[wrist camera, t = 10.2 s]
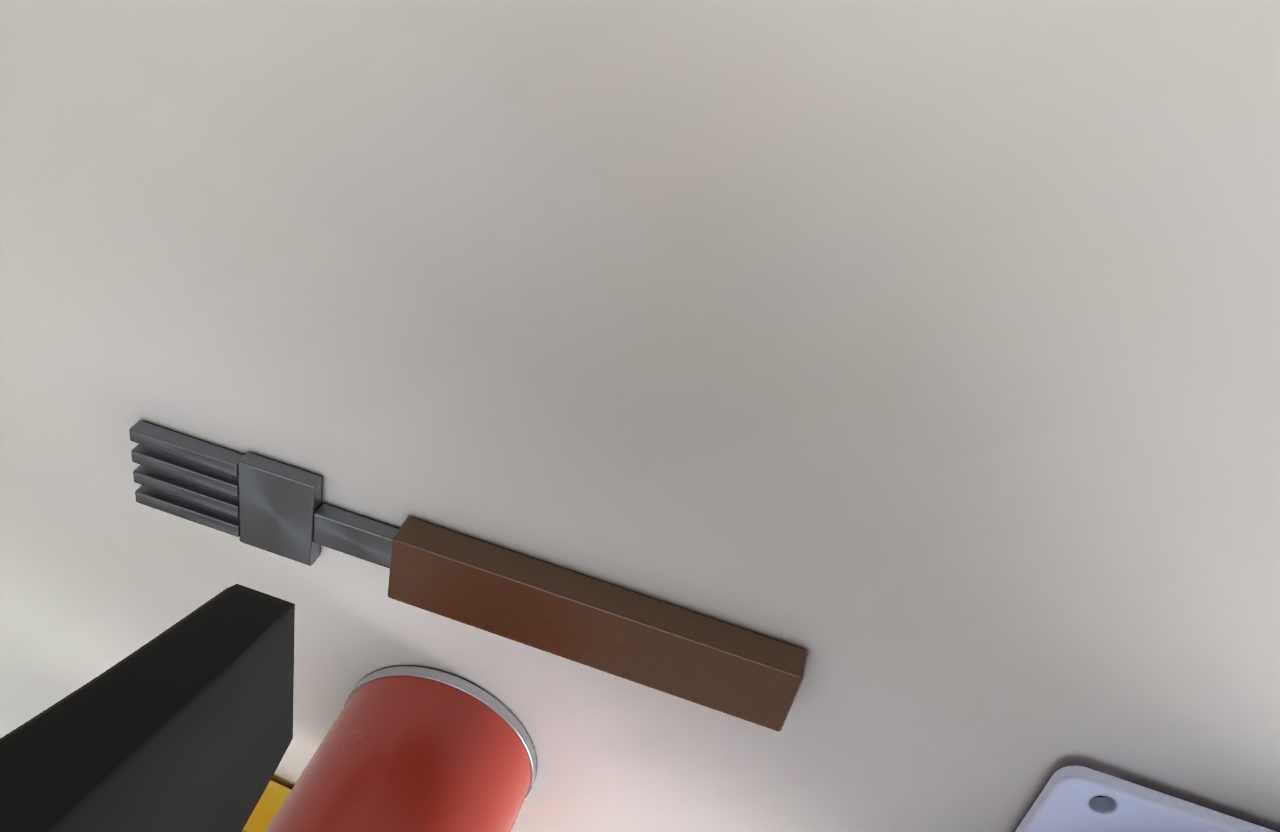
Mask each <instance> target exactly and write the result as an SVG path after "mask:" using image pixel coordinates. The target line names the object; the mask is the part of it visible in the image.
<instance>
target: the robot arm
mask: <svg viewBox="0 0 1280 832" xmlns="http://www.w3.org/2000/svg"><path fill="white" fill-rule="evenodd" d="M294 610H295V604H293V603H290V602H287V601H285V600H282V599H279V598H276V597H273V596H270V595H267V594H264V593H262V592H259V591H256V590H253V589H250V588H247V587H244V586H241V585H239V584H236V585H234V586H231V587H229V588H227V589H225V590H224V591H222V592H221V593H219V594H218V595H217V596H215V597H214V598H212V599H211V600H209V601H208V602H206V603H205V604H204V605H202V606H201V607H199V608H198V609H196V610H195V611H193V612H192V613H191V614H189V615H188V616H186V617H185V618H183V619H182V620H180V621H179V622H178V623H176V624H175V625H173V626H172V627H170V628H169V629H167V630H166V631H164V632H163V633H162V634H160V635H159V636H157V637H156V638H154V639H153V640H151V641H150V642H148V643H147V644H145V645H144V646H143V647H141V648H140V649H138V650H137V651H135V652H134V653H132V654H131V655H129V656H128V657H126V658H125V659H123V660H122V661H120V662H119V663H117V664H116V665H114V666H113V667H111V668H110V669H108V670H107V671H105V672H104V673H102V674H101V675H99V676H98V677H96V678H95V679H93V680H92V681H90V682H89V683H87V684H86V685H84V686H82V687H81V688H79V689H78V690H76V691H75V692H73V693H71V694H70V695H68V696H67V697H65V698H64V699H62V700H60V701H59V702H57V703H56V704H54V705H53V706H51V707H50V708H48V709H46V710H45V711H43V712H42V713H40V714H39V715H37V716H35V717H34V718H32V719H31V720H29V721H28V722H26V723H25V724H23V725H21V726H20V727H18V728H17V729H15V730H13V731H12V732H10V733H9V734H7V735H5V736H4V737H2V738H0V832H242V830H243V828H244V827H245V825H246V823H247V821H248V819H249V818H250V816H251V814H252V812H253V811H254V809H255V807H256V805H257V803H258V802H259V800H260V798H261V796H262V795H263V793H264V791H265V789H266V787H267V785H268V783H269V782H270V780H271V778H272V776H273V774H274V772H275V770H276V769H277V767H278V765H279V763H280V761H281V759H282V757H283V755H284V754H285V752H286V750H287V748H288V746H289V744H290V742H291V740H292V739H293V676H294ZM1100 795H1102V796H1108V797H1104V798H1101V797H1095V796H1100ZM1015 832H1277V831H1274V830H1271V829H1268V828H1265V827H1262V826H1259V825H1256V824H1253V823H1250V822H1247V821H1244V820H1241V819H1238V818H1235V817H1232V816H1229V815H1226V814H1223V813H1220V812H1217V811H1214V810H1211V809H1209V808H1206V807H1203V806H1200V805H1197V804H1194V803H1191V802H1188V801H1185V800H1182V799H1179V798H1176V797H1173V796H1170V795H1167V794H1164V793H1161V792H1158V791H1155V790H1152V789H1149V788H1146V787H1143V786H1140V785H1138V784H1135V783H1132V782H1129V781H1126V780H1123V779H1120V778H1117V777H1114V776H1111V775H1108V774H1105V773H1102V772H1099V771H1096V770H1093V769H1090V768H1087V767H1083V766H1078V765H1075V766H1066V767H1064V768H1061V769H1058V770H1057V771H1056V772H1055V773H1054V774H1053V775H1052V777H1051V778H1050V780H1049V781H1048V783H1047V784H1046V786H1045V787H1044V789H1043V790H1042V792H1041V793H1040V795H1039V796H1038V798H1037V799H1036V801H1035V802H1034V804H1033V805H1032V807H1031V808H1030V810H1029V811H1028V813H1027V814H1026V816H1025V817H1024V819H1023V820H1022V822H1021V823H1020V825H1019V826H1018V828H1017V829H1016V831H1015Z"/></svg>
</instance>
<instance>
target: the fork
mask: <svg viewBox="0 0 1280 832" xmlns="http://www.w3.org/2000/svg"><path fill="white" fill-rule="evenodd" d="M129 431H130V440H131V441H133V442H136V443H139V444H138V445H137V446H136V447H135V448H134V449H133V450H132V451H131V453H132V461H133V462H135V463H138V464H141V465H140V466H139V467H138V468H136V469H135V470H134V472H133V474H134V482H136V483H139V484H141V485H142V486H141V487H139V488H138V489H137V490H136V492H135V495H136V502H138V503H141V504H144V505H147V506H150V507H152V508H155V509H158V510H161V511H164V512H167V513H170V514H173V515H176V516H179V517H182V518H184V519H187V520H190V521H193V522H196V523H199V524H202V525H205V526H208V527H211V528H214V529H216V530H219V531H222V532H225V533H228V534H231V535H234V536H237V537H239V536H240V541H241V542H243V543H246V544H249V545H251V546H254V547H257V548H260V549H263V550H266V551H269V552H272V553H275V554H278V555H281V556H283V557H286V558H289V559H292V560H295V561H298V562H301V563H304V564H307V565H310V566H311V565H313V563H314V562H315V561H316V559H317V558H318V557H319V550H320V545H322V546H325V547H328V548H331V549H334V550H337V551H340V552H343V553H346V554H349V555H352V556H355V557H358V558H361V559H363V560H366V561H369V562H372V563H375V564H378V565H381V566H384V567H387V568H390V576H389V587H388V597H390V598H392V599H395V600H398V601H401V602H404V603H407V604H410V605H413V606H416V607H418V608H421V609H424V610H427V611H430V612H433V613H436V614H439V615H442V616H445V617H448V618H450V619H453V620H456V621H459V622H462V623H465V624H468V625H471V626H474V627H477V628H479V629H482V630H485V631H488V632H491V633H494V634H497V635H500V636H503V637H506V638H509V639H511V640H514V641H517V642H520V643H523V644H526V645H529V646H532V647H535V648H538V649H540V650H543V651H546V652H549V653H552V654H555V655H558V656H561V657H564V658H567V659H569V660H572V661H575V662H578V663H581V664H584V665H587V666H590V667H593V668H596V669H599V670H601V671H604V672H607V673H610V674H613V675H616V676H619V677H622V678H625V679H628V680H630V681H633V682H636V683H639V684H642V685H645V686H648V687H651V688H654V689H657V690H660V691H662V692H665V693H668V694H671V695H674V696H677V697H680V698H683V699H686V700H689V701H691V702H694V703H697V704H700V705H703V706H706V707H709V708H712V709H715V710H718V711H721V712H723V713H726V714H729V715H732V716H735V717H738V718H741V719H744V720H747V721H750V722H752V723H755V724H758V725H761V726H764V727H767V728H770V729H773V730H776V731H781V729H782V727H783V725H784V723H785V720H786V718H787V715H788V713H789V711H790V708H791V706H792V703H793V701H794V699H795V696H796V694H797V691H798V689H799V687H800V684H801V682H802V680H803V677H804V672H805V666H806V661H807V656H808V652H807V651H806V650H804V649H801V648H798V647H795V646H792V645H789V644H786V643H783V642H780V641H777V640H774V639H771V638H768V637H765V636H762V635H759V634H756V633H753V632H751V631H748V630H745V629H742V628H739V627H736V626H733V625H730V624H727V623H724V622H721V621H718V620H715V619H712V618H709V617H706V616H703V615H700V614H697V613H694V612H691V611H688V610H685V609H682V608H679V607H676V606H673V605H670V604H667V603H664V602H661V601H658V600H655V599H652V598H649V597H646V596H643V595H640V594H637V593H634V592H631V591H628V590H625V589H622V588H619V587H616V586H613V585H611V584H608V583H605V582H602V581H599V580H596V579H593V578H590V577H587V576H584V575H581V574H578V573H575V572H572V571H569V570H566V569H563V568H560V567H557V566H554V565H551V564H548V563H545V562H542V561H539V560H536V559H533V558H530V557H527V556H524V555H521V554H518V553H515V552H512V551H509V550H506V549H503V548H500V547H497V546H494V545H491V544H488V543H485V542H482V541H479V540H476V539H473V538H471V537H468V536H465V535H462V534H459V533H456V532H453V531H450V530H447V529H444V528H441V527H438V526H435V525H432V524H429V523H426V522H423V521H420V520H417V519H414V518H411V517H408V518H407V519H406V520H405V521H404V523H403V524H402V526H401V527H400V529H398V528H395V527H392V526H389V525H386V524H383V523H380V522H377V521H374V520H371V519H368V518H365V517H362V516H359V515H356V514H353V513H350V512H347V511H344V510H341V509H338V508H335V507H332V506H329V505H327V504H321V490H322V477H321V476H318V475H315V474H312V473H309V472H306V471H303V470H300V469H297V468H294V467H291V466H288V465H285V464H282V463H279V462H276V461H274V460H271V459H268V458H265V457H262V456H259V455H256V454H253V453H250V452H247V453H246V454H245V455H242V454H239V453H236V452H233V451H230V450H227V449H224V448H221V447H218V446H215V445H212V444H210V443H207V442H204V441H201V440H198V439H195V438H192V437H189V436H186V435H183V434H180V433H177V432H174V431H171V430H168V429H165V428H162V427H159V426H156V425H153V424H150V423H147V422H144V421H138V422H137V423H136V424H135V425H134V426H133V427H131V428H130V430H129Z"/></svg>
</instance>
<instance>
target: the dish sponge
mask: <svg viewBox="0 0 1280 832" xmlns="http://www.w3.org/2000/svg"><path fill="white" fill-rule="evenodd" d="M290 791H291V789H289V788H287V787H285V786H283V785H280V784H278V783H276V782H274V781H272V780H270V782H269V783H268V785H267V787H266V789H265V791H264V793H263V795H262V796H261V798H260V800H259V802H258V803H257V805H256V807H255V809H254V811H253V812H252V814H251V816H250V818H249V819H248V821H247V823H246V825H245V827H244V828H243V830H242V832H265V831H266V829H267V828H268V826H269V825H270V823H271V821H272V820H273V818H274V817H275V815H276V814H277V812H278V810H279V809H280V807H281V806H282V804H283V803H284V801H285V799H286V798H287V796H288V795H289V793H290Z"/></svg>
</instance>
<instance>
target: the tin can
mask: <svg viewBox="0 0 1280 832" xmlns="http://www.w3.org/2000/svg"><path fill="white" fill-rule="evenodd" d="M536 771H537V761H536V754H535V750H534V747H533V745H532V742H531V740H530V738H529V736H528V734H527V732H526V731H525V729H524V728H523V726H522V725H521V724H520V722H519V721H518V720H517V718H516V717H515V716H514V715H513V714H512V713H511V712H510V711H509V710H508V709H507V708H506V707H505V706H504V705H503V704H501V703H500V702H499V701H498V700H497V699H495V698H494V697H493V696H491V695H490V694H488V693H487V692H485V691H484V690H482V689H481V688H479V687H477V686H476V685H474V684H472V683H470V682H468V681H466V680H464V679H461V678H459V677H456V676H454V675H451V674H448V673H445V672H442V671H438V670H434V669H429V668H424V667H414V666H398V667H390V668H385V669H382V670H378V671H376V672H374V673H371V674H369V675H368V676H366V677H365V678H363V679H362V680H361V681H360V682H359V683H358V684H357V685H356V686H355V687H354V689H353V690H352V692H351V693H350V695H349V696H348V698H347V700H346V703H345V705H344V708H343V710H342V711H341V713H340V714H339V716H338V718H337V719H336V721H335V722H334V724H333V725H332V727H331V729H330V730H329V732H328V733H327V735H326V736H325V738H324V740H323V741H322V743H321V744H320V746H319V747H318V749H317V751H316V752H315V754H314V755H313V757H312V758H311V760H310V762H309V763H308V765H307V766H306V768H305V769H304V771H303V773H302V774H301V776H300V777H299V779H298V780H297V782H296V784H295V785H294V787H293V788H292V790H291V791H290V793H289V795H288V796H287V798H286V799H285V801H284V803H283V804H282V806H281V807H280V809H279V810H278V812H277V814H276V815H275V817H274V818H273V820H272V821H271V823H270V825H269V826H268V828H267V829H266V831H265V832H511V830H512V828H513V825H514V823H515V821H516V818H517V816H518V813H519V811H520V809H521V806H522V804H523V802H524V799H525V798H526V797H527V795H528V794H529V792H530V790H531V788H532V785H533V783H534V780H535V777H536Z"/></svg>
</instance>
